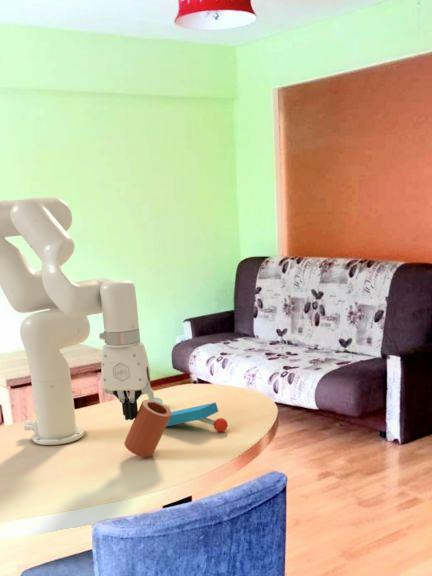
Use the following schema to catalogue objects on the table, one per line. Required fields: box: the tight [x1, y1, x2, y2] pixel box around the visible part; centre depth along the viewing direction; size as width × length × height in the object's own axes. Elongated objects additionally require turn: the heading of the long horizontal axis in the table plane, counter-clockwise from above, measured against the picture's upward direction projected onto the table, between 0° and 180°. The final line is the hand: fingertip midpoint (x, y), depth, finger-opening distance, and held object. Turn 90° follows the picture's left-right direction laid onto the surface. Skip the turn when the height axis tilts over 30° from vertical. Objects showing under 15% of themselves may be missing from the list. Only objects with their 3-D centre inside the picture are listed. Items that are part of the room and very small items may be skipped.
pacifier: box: [146, 387, 167, 407], centre depth 203 cm, size 7×6×6 cm
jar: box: [124, 398, 172, 458], centre depth 165 cm, size 7×7×11 cm
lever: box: [166, 402, 229, 433], centre depth 185 cm, size 7×7×18 cm
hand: (131, 418), depth 166 cm, fingers closed
